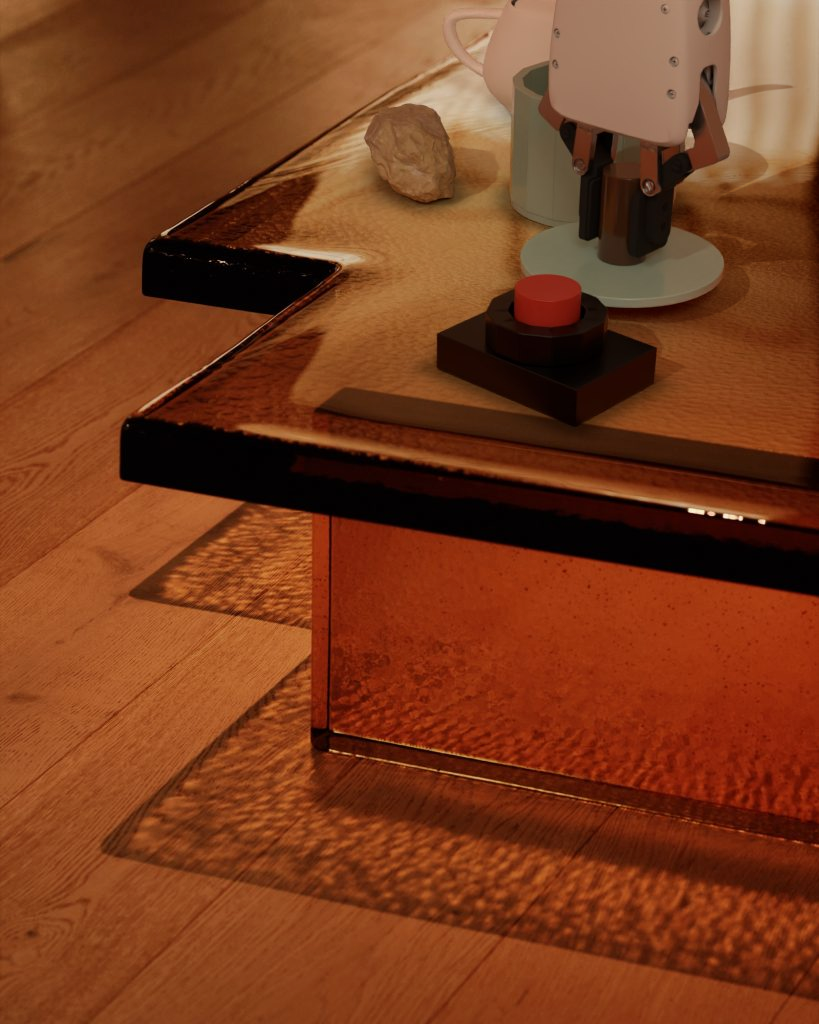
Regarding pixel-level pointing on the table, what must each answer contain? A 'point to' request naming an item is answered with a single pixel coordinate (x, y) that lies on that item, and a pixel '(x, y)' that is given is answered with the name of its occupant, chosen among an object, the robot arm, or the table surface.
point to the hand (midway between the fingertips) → (622, 239)
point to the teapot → (506, 42)
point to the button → (547, 300)
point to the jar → (546, 156)
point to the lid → (624, 254)
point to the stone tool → (412, 151)
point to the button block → (548, 360)
